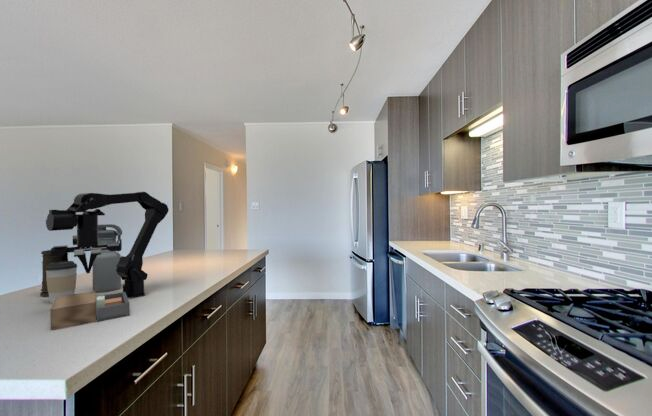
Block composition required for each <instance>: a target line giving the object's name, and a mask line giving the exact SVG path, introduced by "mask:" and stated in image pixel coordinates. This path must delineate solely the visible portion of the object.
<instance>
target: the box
mask: <svg viewBox="0 0 652 416" xmlns="http://www.w3.org/2000/svg"><path fill="white" fill-rule="evenodd" d="M98 296H99V295H96V298H97V297H98ZM100 296H105V300H107V299H113V298H119V297H121V299H122V304H117V305H111V306H105V307H100V308H97V307H96V323H98V322H104V321H109V320H113V319H114V320H115V319H118V318H119V319H120V318H124V317H128V316H130V314H131V313H130V301H129V298H127V295H126V292H123V291H121V292H116V293H109V294H102V295H100Z"/></svg>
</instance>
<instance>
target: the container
mask: <svg viewBox="0 0 652 416" xmlns="http://www.w3.org/2000/svg"><path fill="white" fill-rule="evenodd" d="M40 254H41V257H42V261H41V265H42V266H41V267H42V272H41V273H42V279H41V280H42V281H41V289H40V291H41V292H40V294H39V295H40V297H43V298H49V293H48V288H47V280H46V276H47V275H46V270H45V269H46V267H47V266H49V264H50V263H54V262H62V261H69V258H68V257H69V256H68V255H69V253H65V254H64V255H60V256H51V249H49V250H48V249H47V250H42V251H41V252H40Z"/></svg>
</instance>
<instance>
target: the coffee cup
mask: <svg viewBox="0 0 652 416" xmlns="http://www.w3.org/2000/svg"><path fill="white" fill-rule="evenodd" d="M77 268H78V263H75V262H74V261H73V260H68V261H62V262H54V263H50V264H49V266H47V267H46V269H45V270H46V275H47V276H46V280H47V288H48V293H49V297H48V300H49V304H50V305H53V303H54V301H55V299H56V297H58V296H65V295H71V294H76V286H77V276H78V275H77V274H78V273H77Z"/></svg>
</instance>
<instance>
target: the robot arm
mask: <svg viewBox="0 0 652 416" xmlns="http://www.w3.org/2000/svg"><path fill="white" fill-rule="evenodd" d="M136 202H137V203H138V204H139V205H140V207H141V208H142V209H143V210H144V211H145V212H144V221H143V224H142V226H141V228H140V230H139V232H138V234H137V237H136V238H135V240H134V243H133V245H132V247H131V249H130V251H129V252H128V254H127V255H125V256H123V255H122V256H121V257H120V260H119V263H118V264H117V265H116V266H117V269H116V272H117V274H118V275H119V276H121V281H124V283H123V284H122V292H126V295H127V298H128V299H130V298H137V297H144V296H145V295H146V293H145V281H146V280H147V278H148V276H149V275H148V273H147V272H145V271H144V270H142V269H143V264H144V262H143V257H144V254H145V252H146V251H147V248H148V246H149V243H150V242H151V239H152V238H153V234H154V233H155V232H156V231H155V230H156V229H157V227H158V225H159V224H160V223H161V222H162V221H163V220H164V219H165V218H166V217H167V214H168V213H169V207H168V205H167V204H166V203H164V202H162V201H161V200H159V199H157V198H155V197H154V196H152V195H150V194H149V193H148V192H146V191H137V192H128V193H114V194H106V193H105V194H104V193H98V192H97V193H96V192H85V193H84V192H83V193H79V194H77V195H76V196H75V197H74V199H73V203H71V204H70V205H69V206H68V208H67V209H63V210H60V209H49V210H48V213H47V214H48V215H47V217H46V219H45V226H46V229H47V231H50V232H51V231H52V232H53V231H70V230H71V231H72V230H73V229H74V228H75V227H76V235H72V246H69V245H67V244H66V245H54V246H53V247H52V248H50V250H51V256H60V255H64V254H65V253H68V254H69V253H73V257H74V258H76V257H77V258H78V260H79V261H80V262H81V263H82V264H81V265H82V266H83V268H84V269H83V270H85V273H86V274H90V273H91V271H92V269H93V268H92V265H93V262H94V260H95V259H96V257H97V255H101V250H109V251H116V252H117V251H119V252H121V251H122V250H121V244H120V241H119V242H117V241H116V242H109V243H107V245H98V225H99V216H105V215H106V214H105V212H103V211H102V210H101V209H99V208H103V207H107V206H109V205H116V204H117V205H118V204H127V203H136ZM89 210H90V211H89ZM77 213H81V214H77ZM68 246H69V247H68ZM120 250H121V251H120ZM86 252H90V254H89V262H88V261H87V255H86Z"/></svg>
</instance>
